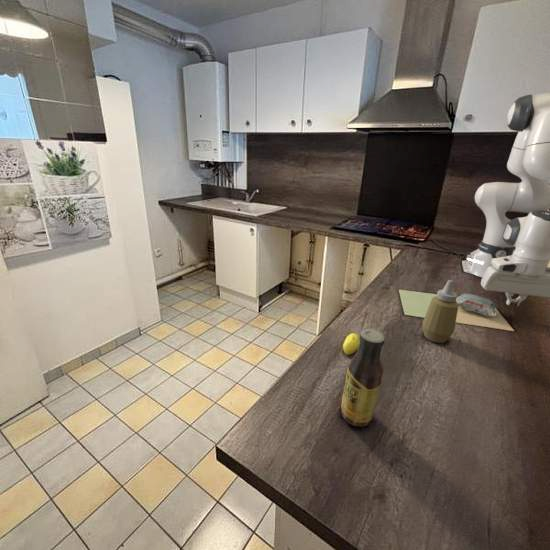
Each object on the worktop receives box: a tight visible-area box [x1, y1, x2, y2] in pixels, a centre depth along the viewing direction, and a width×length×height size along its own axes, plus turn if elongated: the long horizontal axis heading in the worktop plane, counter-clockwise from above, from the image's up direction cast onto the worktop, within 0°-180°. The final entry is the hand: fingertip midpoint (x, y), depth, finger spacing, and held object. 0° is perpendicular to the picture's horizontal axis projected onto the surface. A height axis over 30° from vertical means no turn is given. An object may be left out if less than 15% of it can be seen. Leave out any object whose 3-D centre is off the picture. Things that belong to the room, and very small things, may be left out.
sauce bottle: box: [340, 328, 386, 428], centre depth 54 cm, size 6×6×20 cm
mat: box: [398, 289, 515, 332], centre depth 100 cm, size 20×31×1 cm, turn 74°
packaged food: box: [457, 292, 499, 316], centre depth 98 cm, size 9×12×5 cm
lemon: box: [342, 332, 360, 356], centre depth 77 cm, size 4×8×4 cm, turn 145°
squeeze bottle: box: [421, 279, 458, 344], centre depth 80 cm, size 8×8×18 cm
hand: (512, 305), depth 94 cm, fingers closed
